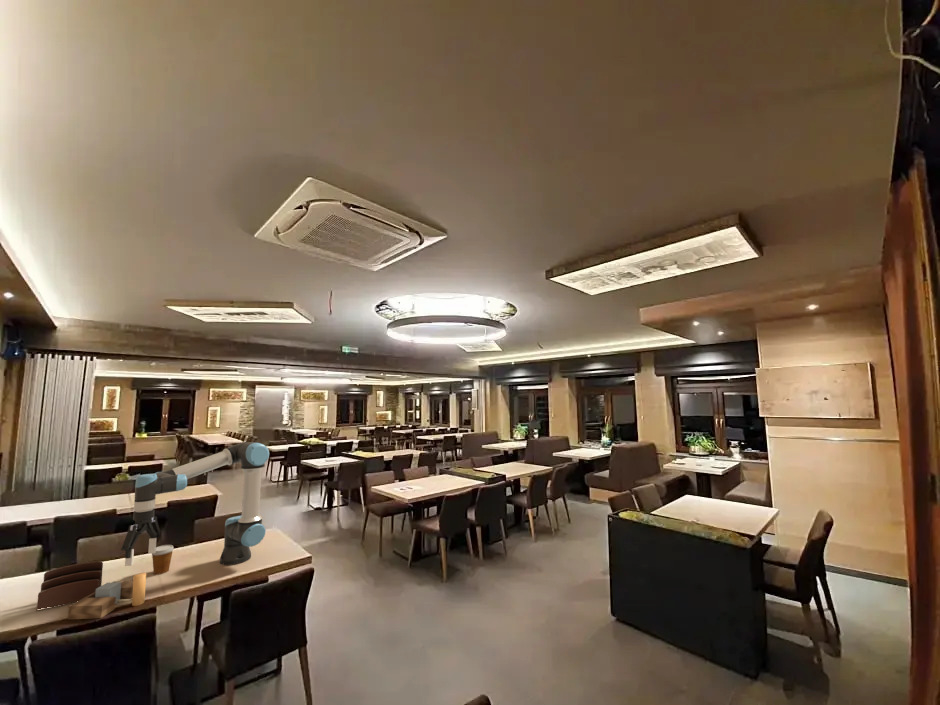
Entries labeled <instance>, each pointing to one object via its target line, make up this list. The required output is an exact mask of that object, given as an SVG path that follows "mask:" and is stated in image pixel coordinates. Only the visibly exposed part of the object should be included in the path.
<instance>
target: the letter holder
mask: <svg viewBox="0 0 940 705" xmlns="http://www.w3.org/2000/svg"><path fill="white" fill-rule="evenodd" d="M103 568H104V563H103V561H99V560H98V561H85V562H82V563H81V562H79V563H76V564H69V565H65V566H61V567H58V568H54V569H51V570H49V571H46V572H45V573H44V574H43V581H42V583H41V585H40V591H39V593H38V595H37V604H36V610H37V609H41V608H47V607H52V608H55V607H54V606H57V607H59V606H58V605H61V606H64V605H63V604H65V605H69V604H68V603H70V604H73V603H72V602H74V603H76V602H77V601H79V600H81V599H83V598H85V597H87V596H88V595H90V594H92V593H94V592H95V591H96V589H97V588H99V587H100V586H102V584H103V583H102V582H103V581H102V580H103Z"/></svg>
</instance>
